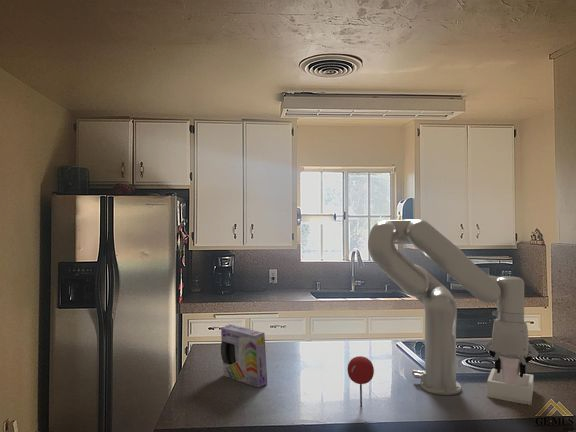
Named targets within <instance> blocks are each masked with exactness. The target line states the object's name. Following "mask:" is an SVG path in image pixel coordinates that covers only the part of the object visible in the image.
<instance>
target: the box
mask: <svg viewBox="0 0 576 432" xmlns="http://www.w3.org/2000/svg"><path fill="white" fill-rule="evenodd" d="M534 377H535V376H534V374H528V373H525V374H523V378H522V377H520V372H519V374H518V381H517V385H515V384H510V383H504V382H503V377H502V370H501V371H500V373H497V370H496V369H495V367H494V368H492V369H491V370H490V373H489V375H488V378H487V382H486V384H487V385H486V387H487V389H486V394H487V395H486V397H487V398H493V399H496V400H502V401H507V402H513V403H519V404H523V405H527V404H528V405H529V406H532V403H533V397H534V395H533V394H534ZM528 405H527V406H528Z"/></svg>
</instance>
